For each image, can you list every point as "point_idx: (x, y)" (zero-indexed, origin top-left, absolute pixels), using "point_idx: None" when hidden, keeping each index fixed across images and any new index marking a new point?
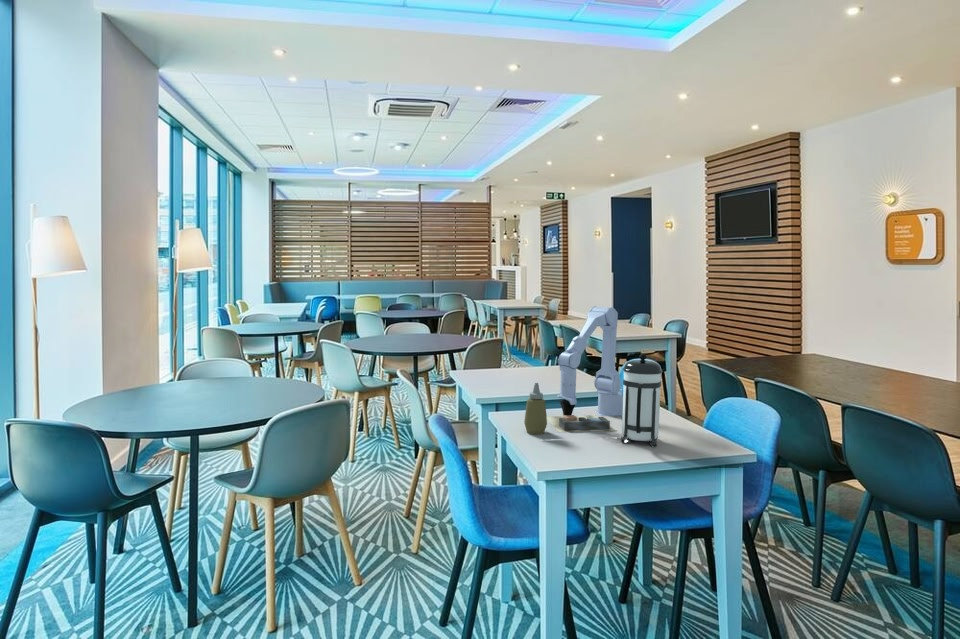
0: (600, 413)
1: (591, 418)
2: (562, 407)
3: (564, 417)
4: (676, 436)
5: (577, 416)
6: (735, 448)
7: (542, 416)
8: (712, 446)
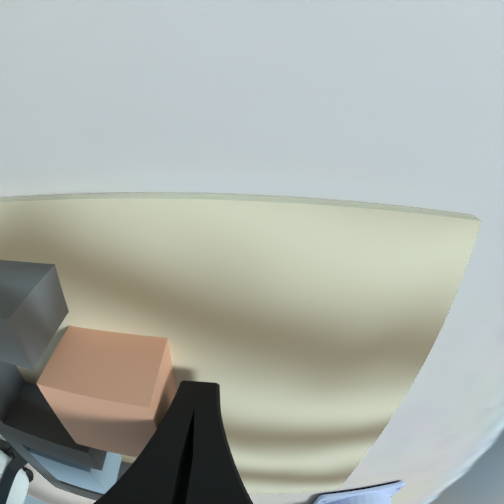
0: (347, 499)
1: (81, 476)
2: (190, 497)
3: (102, 387)
4: (70, 499)
5: (354, 447)
6: (28, 494)
7: None
8: None
